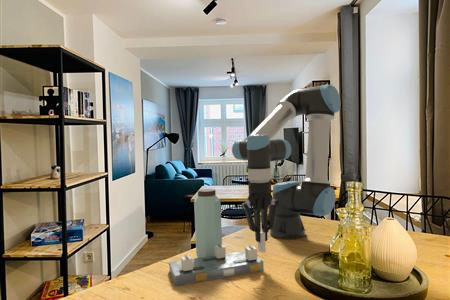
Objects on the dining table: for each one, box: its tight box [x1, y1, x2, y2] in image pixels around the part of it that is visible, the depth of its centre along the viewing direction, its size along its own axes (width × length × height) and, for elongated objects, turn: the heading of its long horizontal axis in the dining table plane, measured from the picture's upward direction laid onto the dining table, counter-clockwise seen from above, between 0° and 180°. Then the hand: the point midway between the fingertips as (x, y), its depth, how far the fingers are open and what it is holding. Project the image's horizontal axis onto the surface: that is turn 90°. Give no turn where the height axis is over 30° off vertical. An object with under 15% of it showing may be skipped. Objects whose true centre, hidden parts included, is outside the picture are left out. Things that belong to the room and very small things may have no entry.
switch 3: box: [244, 245, 258, 261], centre depth 112 cm, size 3×3×4 cm
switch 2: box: [215, 243, 227, 258], centre depth 115 cm, size 3×3×4 cm
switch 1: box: [180, 254, 193, 271], centre depth 106 cm, size 3×3×4 cm
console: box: [168, 250, 265, 287], centre depth 112 cm, size 29×12×3 cm, turn 107°
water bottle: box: [193, 188, 223, 258], centre depth 124 cm, size 10×10×25 cm
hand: (261, 250), depth 113 cm, fingers closed
